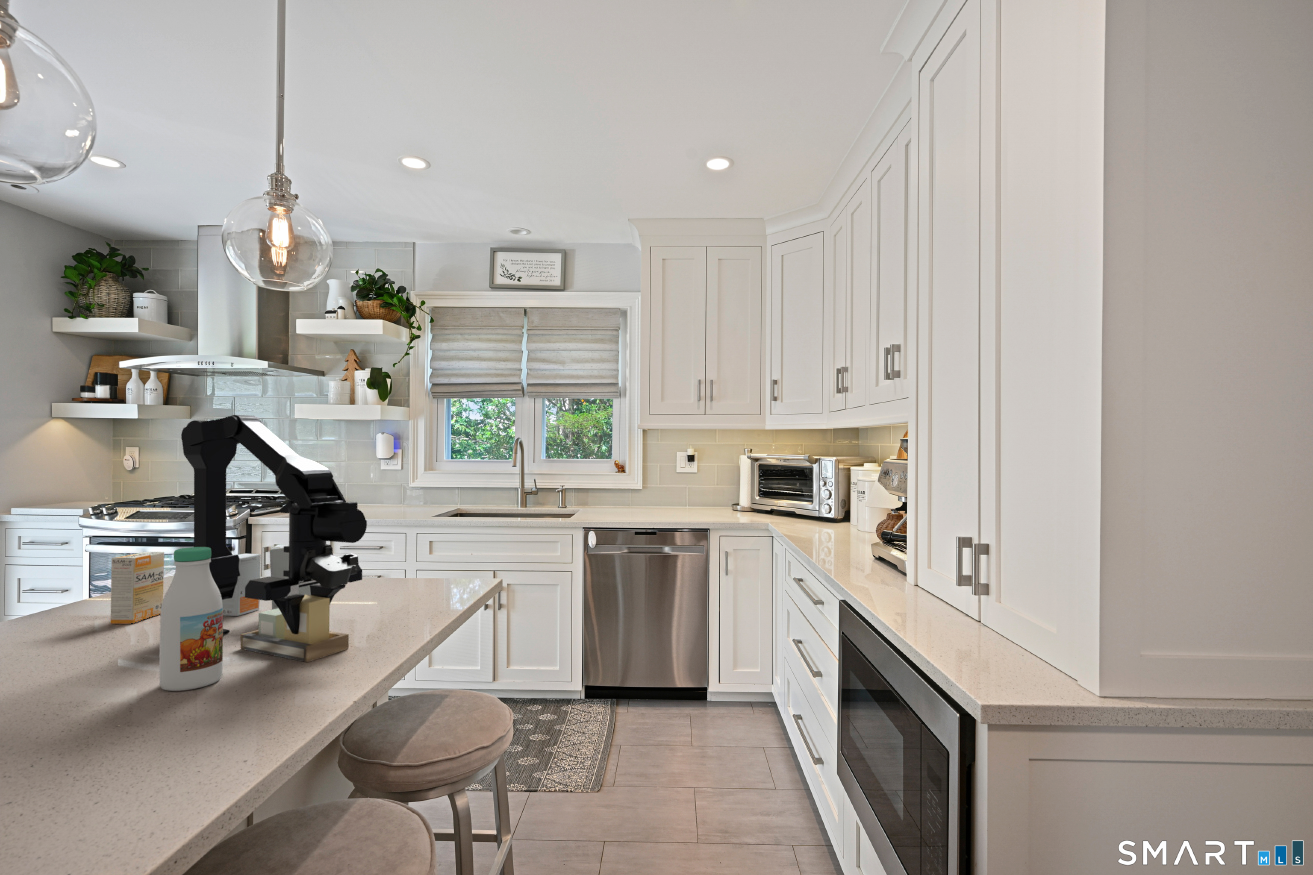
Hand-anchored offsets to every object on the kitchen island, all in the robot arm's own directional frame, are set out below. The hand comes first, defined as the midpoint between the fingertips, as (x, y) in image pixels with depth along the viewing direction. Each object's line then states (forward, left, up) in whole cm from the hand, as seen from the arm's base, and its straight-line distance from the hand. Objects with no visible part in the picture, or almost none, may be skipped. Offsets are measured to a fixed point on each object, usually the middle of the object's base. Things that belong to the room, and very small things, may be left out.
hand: (307, 630), depth 115 cm
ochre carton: (0, 0, -2) cm, 2 cm away
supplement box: (-49, 0, -4) cm, 50 cm away
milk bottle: (-2, -18, -4) cm, 18 cm away
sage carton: (-7, 0, -4) cm, 8 cm away
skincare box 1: (-35, +12, -4) cm, 38 cm away
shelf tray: (-3, 0, -4) cm, 5 cm away
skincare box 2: (-22, +15, -4) cm, 27 cm away
